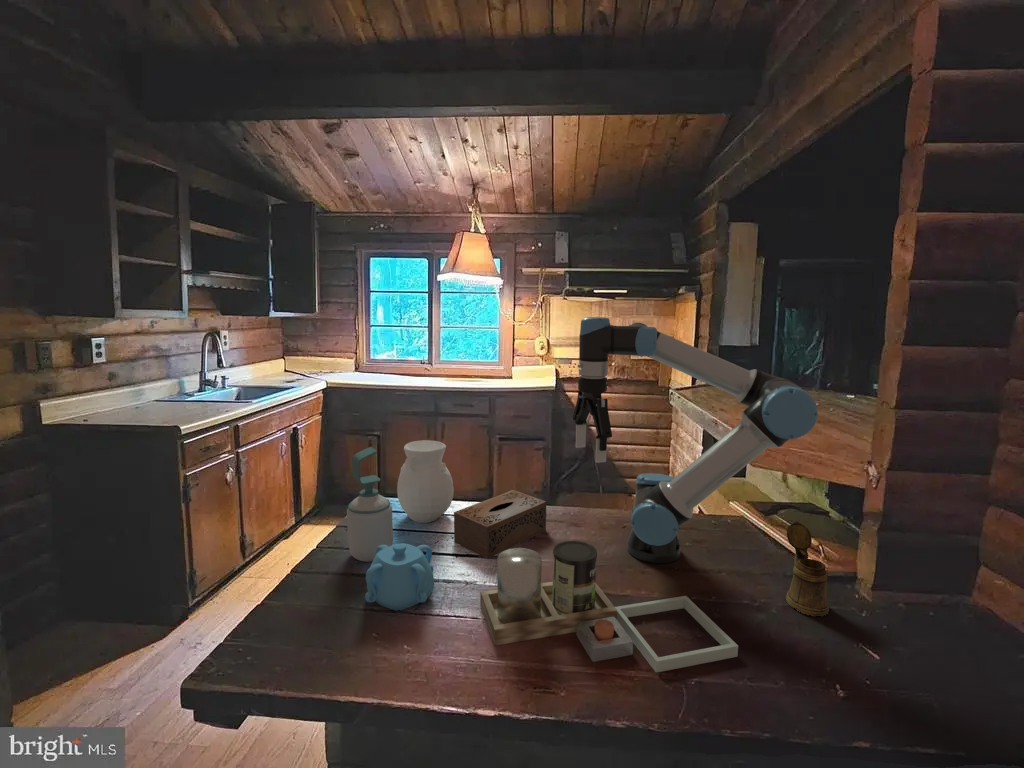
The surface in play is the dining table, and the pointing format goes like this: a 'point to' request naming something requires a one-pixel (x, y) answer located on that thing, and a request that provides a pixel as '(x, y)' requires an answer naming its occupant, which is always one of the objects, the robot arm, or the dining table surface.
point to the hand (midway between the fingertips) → (590, 454)
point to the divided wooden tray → (547, 622)
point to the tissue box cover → (499, 523)
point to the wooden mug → (806, 575)
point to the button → (604, 630)
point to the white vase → (425, 481)
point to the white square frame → (681, 659)
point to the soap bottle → (368, 515)
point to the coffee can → (574, 577)
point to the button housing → (604, 641)
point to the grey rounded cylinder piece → (518, 585)
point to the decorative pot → (400, 576)
